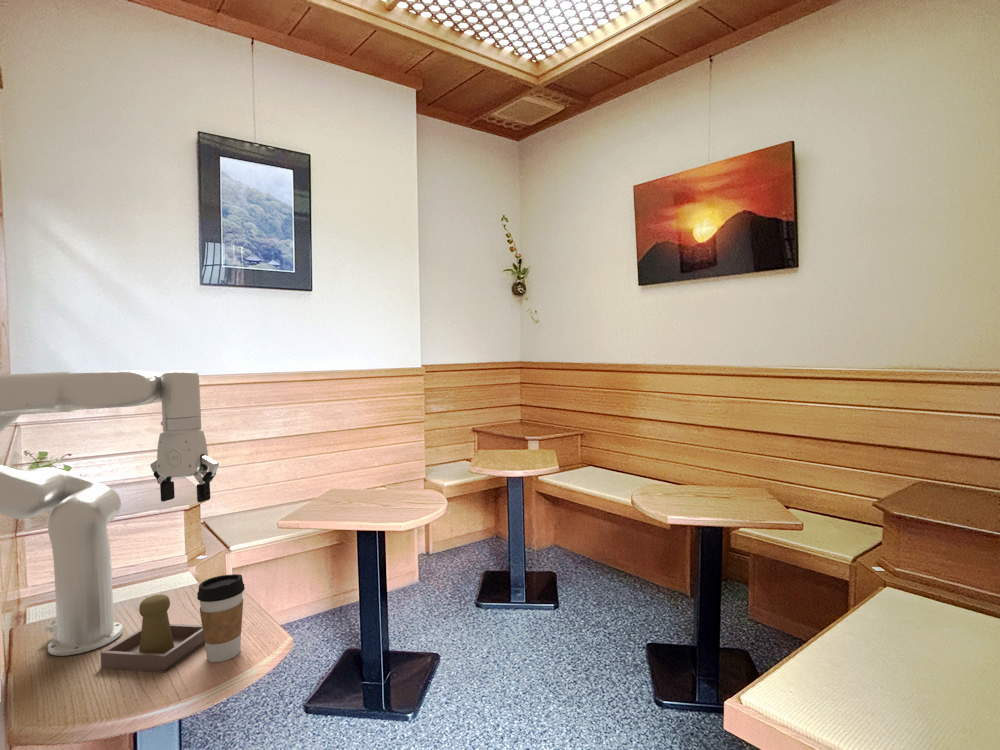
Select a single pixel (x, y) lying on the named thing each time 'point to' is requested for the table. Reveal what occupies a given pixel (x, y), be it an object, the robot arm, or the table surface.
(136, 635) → the lacquer tray
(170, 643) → the tan tall rounded piece
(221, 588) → the coffee cup
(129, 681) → the table surface
